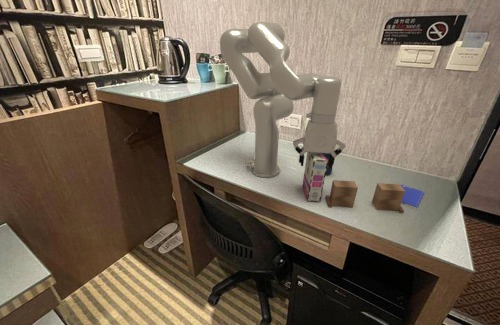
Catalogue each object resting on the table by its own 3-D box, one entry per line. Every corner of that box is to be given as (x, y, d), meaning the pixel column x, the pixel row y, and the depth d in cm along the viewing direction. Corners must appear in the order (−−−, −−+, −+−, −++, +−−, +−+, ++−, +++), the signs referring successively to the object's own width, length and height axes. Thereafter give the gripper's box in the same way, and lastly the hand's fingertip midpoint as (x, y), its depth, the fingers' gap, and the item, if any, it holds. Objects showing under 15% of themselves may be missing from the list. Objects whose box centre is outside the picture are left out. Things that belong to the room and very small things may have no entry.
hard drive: (400, 183, 94) (391, 197, 86) (424, 191, 89) (417, 207, 81) (399, 187, 94) (390, 201, 86) (423, 195, 90) (416, 210, 81)
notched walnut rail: (328, 207, 82) (332, 187, 78) (325, 197, 87) (328, 178, 83) (403, 213, 79) (410, 193, 76) (395, 202, 85) (402, 183, 81)
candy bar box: (321, 202, 84) (328, 161, 77) (307, 202, 84) (313, 160, 77) (314, 185, 94) (320, 147, 87) (302, 184, 94) (307, 146, 87)
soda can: (313, 174, 102) (317, 148, 97) (316, 167, 108) (320, 142, 102) (330, 177, 99) (335, 151, 94) (332, 170, 105) (337, 145, 100)
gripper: (296, 120, 73) (291, 168, 81) (354, 122, 72) (343, 172, 80) (294, 113, 80) (290, 159, 88) (347, 115, 78) (338, 161, 86)
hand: (315, 165), depth 84 cm, fingers open, 9 cm apart
